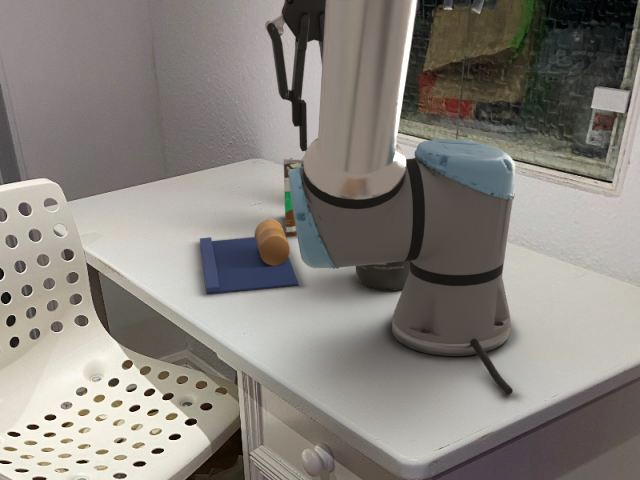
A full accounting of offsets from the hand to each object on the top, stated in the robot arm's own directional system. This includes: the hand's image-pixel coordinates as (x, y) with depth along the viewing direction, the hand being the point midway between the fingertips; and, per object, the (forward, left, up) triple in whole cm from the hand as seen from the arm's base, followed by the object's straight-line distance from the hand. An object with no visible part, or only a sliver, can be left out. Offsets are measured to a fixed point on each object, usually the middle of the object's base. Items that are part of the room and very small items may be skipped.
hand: (314, 147), depth 123 cm
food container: (+14, 0, -17) cm, 22 cm away
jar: (-13, -9, -17) cm, 23 cm away
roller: (0, +7, -14) cm, 16 cm away
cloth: (-1, +12, -17) cm, 20 cm away
